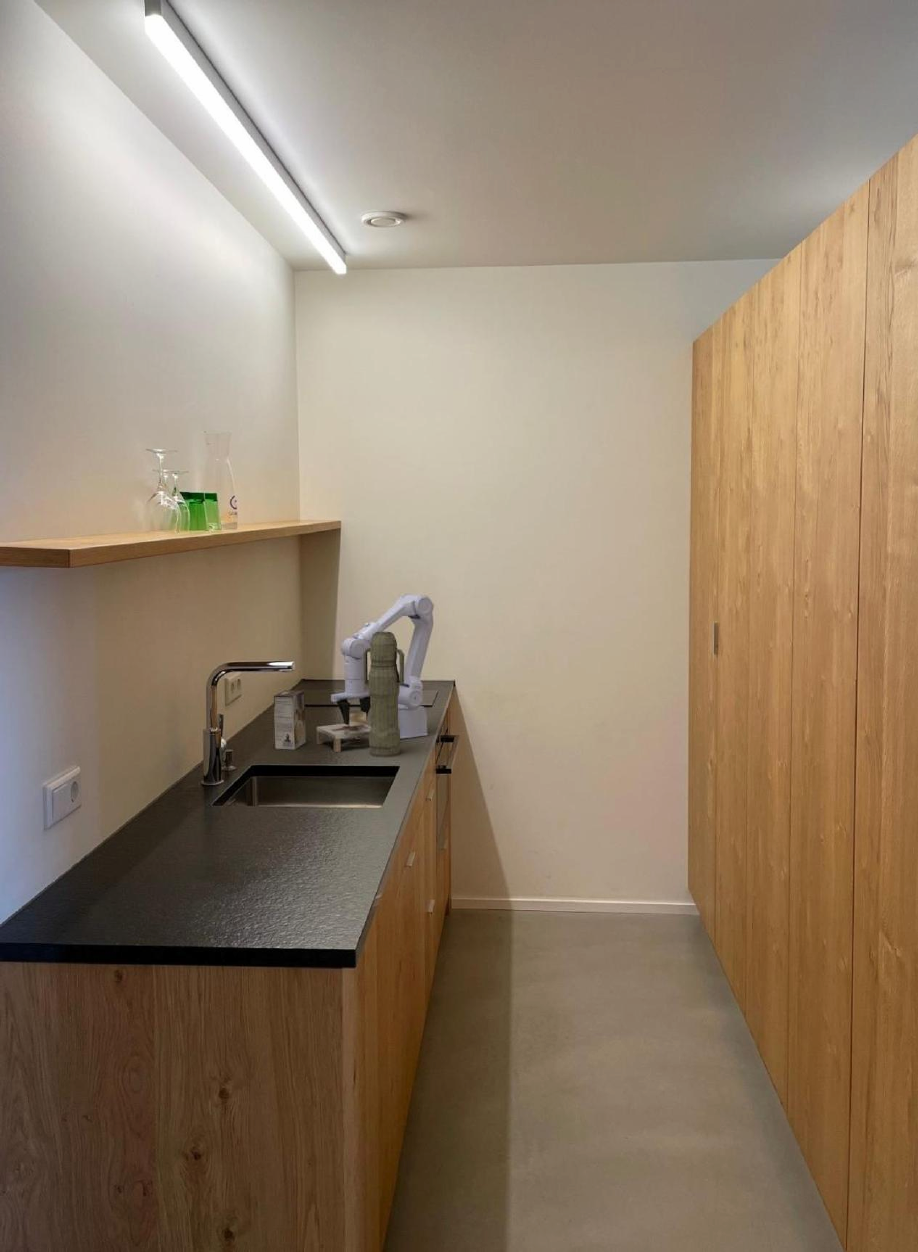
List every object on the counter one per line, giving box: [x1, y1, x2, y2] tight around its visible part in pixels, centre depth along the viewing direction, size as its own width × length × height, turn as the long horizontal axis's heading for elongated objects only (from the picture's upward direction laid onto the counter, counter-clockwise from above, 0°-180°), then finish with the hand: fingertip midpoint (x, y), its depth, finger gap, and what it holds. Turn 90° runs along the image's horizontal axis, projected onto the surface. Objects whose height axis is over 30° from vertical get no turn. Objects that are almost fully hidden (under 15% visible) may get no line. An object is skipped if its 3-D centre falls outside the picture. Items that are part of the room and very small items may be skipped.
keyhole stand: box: [316, 723, 371, 753], centre depth 287 cm, size 14×14×5 cm
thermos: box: [363, 631, 405, 758], centre depth 275 cm, size 9×12×35 cm
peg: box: [348, 709, 367, 731], centre depth 288 cm, size 5×5×7 cm
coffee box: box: [273, 689, 307, 750], centre depth 286 cm, size 9×6×16 cm
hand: (355, 723), depth 288 cm, fingers closed on peg, 5 cm apart
